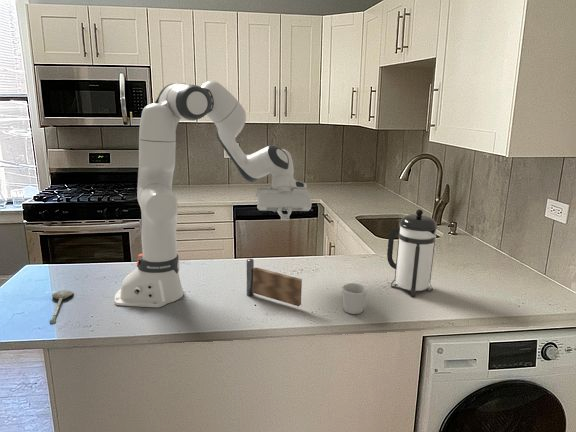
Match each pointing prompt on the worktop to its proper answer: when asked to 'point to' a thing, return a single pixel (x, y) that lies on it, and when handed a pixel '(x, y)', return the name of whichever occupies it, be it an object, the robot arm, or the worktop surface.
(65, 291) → the soupspoon
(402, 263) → the coffee press
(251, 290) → the gate post
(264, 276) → the gate
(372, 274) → the worktop surface
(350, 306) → the cup
